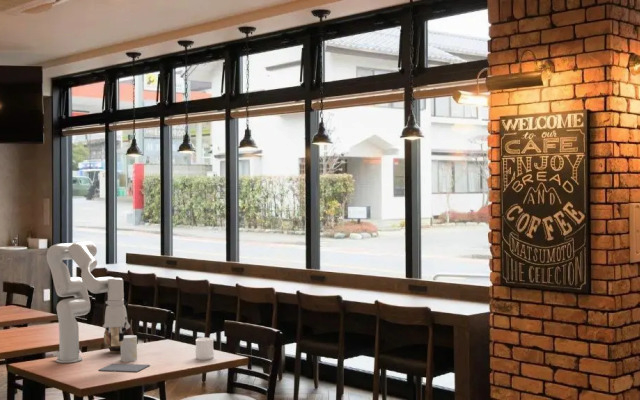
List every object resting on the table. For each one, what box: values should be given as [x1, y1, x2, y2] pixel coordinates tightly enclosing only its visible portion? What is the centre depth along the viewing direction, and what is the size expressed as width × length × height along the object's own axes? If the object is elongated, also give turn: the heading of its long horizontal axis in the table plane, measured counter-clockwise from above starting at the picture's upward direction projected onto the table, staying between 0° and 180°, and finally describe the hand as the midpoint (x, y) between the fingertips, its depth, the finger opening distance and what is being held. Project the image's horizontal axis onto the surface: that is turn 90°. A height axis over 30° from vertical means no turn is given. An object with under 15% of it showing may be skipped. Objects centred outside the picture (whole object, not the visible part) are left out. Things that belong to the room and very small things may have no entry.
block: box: [111, 327, 123, 346], centre depth 382 cm, size 4×4×10 cm
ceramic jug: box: [103, 298, 134, 354], centre depth 423 cm, size 17×15×30 cm
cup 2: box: [195, 337, 215, 361], centre depth 403 cm, size 10×10×10 cm
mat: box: [98, 363, 151, 373], centre depth 381 cm, size 20×14×1 cm
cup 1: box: [120, 334, 138, 363], centre depth 401 cm, size 8×8×12 cm
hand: (116, 340), depth 382 cm, fingers closed on block, 4 cm apart
